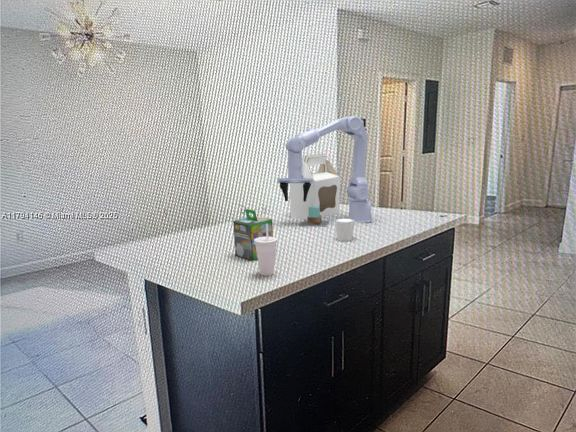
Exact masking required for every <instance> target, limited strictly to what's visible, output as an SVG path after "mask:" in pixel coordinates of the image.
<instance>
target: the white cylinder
mask: <svg viewBox="0 0 576 432" xmlns="http://www.w3.org/2000/svg"><path fill="white" fill-rule="evenodd" d="M334 221H335V230H336V231H335V232H336V240H337V241H340V242H350V240H351V241H353V239H354V230H355V222H354V220H353V219H348V218H337V219H335V220H334Z"/></svg>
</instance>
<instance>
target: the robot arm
mask: <svg viewBox="0 0 576 432" xmlns="http://www.w3.org/2000/svg"><path fill="white" fill-rule="evenodd" d="M364 123H365V121H364V120H363V119H362V118H360V117H359V116H357V115H352V116H343V117H341V118H338V119H335V120H332V121H331V122H329V123H327V124H324V125H323V126H321V127H320V128H317V129H315V128H307V129H306V131H304V132H301V133H297V134H296V135H295V137H289V138H288V139H287V140H286V143H285V149H286V150H287V177H282V178H281V177H279V178H277V179H276V180H277V184H279V188H280V190H281V192H282V193H283V197H284V201H285V202H288V201H289V184H290V183H304V184H303V191H304V197H303V201H304V202H305V201H306V198H307V194H308V191H309V188H310V186H311V184H313V178H302V163H303V150H304V149H305V148H308V147H309V146H312V145H314V144H316V143H318V142H319V141H320V138H321V137H324V136H325V135H328V134H330V133H334V132H335V131H342V132H343V133H345V134H347V135H349V136H350V137H351V139H353V155H352V156H353V158H352V173H351V174H352V176H351V178H350V179H349V181H348V182H349V184H348V187H347V188H346V194H347V195H348V202H349V203H348V208H349V209H348V218H347V219H353V220H354V223H358V222H359V223H371V220H372V200H367V199H368V198H369V197H370V189H369V187H368V186H369V183H368V181H367V178H366V166H367V153H368V152H367V151H368V139H369V138H368V137H369V136H368V135H369V134H368V133H367V130H366V127H365V125H364ZM291 181H300V182H291Z"/></svg>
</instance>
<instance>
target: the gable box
mask: <svg viewBox="0 0 576 432" xmlns="http://www.w3.org/2000/svg"><path fill="white" fill-rule="evenodd" d="M328 157H329V156H328V155H327V156H326V155H325V153H318V154H317V153H316V154H310V155H309V154H307V155H304V161H302V178H313V184H311V186H310V188H309V191H308V194H307V198H306V201H305V202H304V201H303V197H304V191H303V184H304V183H289V194H290V195H289V197H290V198H289V200H290V209H289V210H290V218H294V219H302V220H303V219H304V220H307V217H308V216H309V207H310V206H320V215H321V219H323V218H326V217H328V216H332V215H336V214H339V213H340V175H339V174H338V172H337V171H336V170H335V168H334V167H333V165H332V164H331V162H330V161H329V160H328ZM316 165H318V166H319V167H318V170H317V172H314V173H312V171H311V169H310V166H316ZM291 182H300V181H291Z"/></svg>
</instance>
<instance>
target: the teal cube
mask: <svg viewBox="0 0 576 432" xmlns="http://www.w3.org/2000/svg"><path fill="white" fill-rule="evenodd" d="M319 216H320V206H310V207H309V217H313V218H318V217H319Z"/></svg>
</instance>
